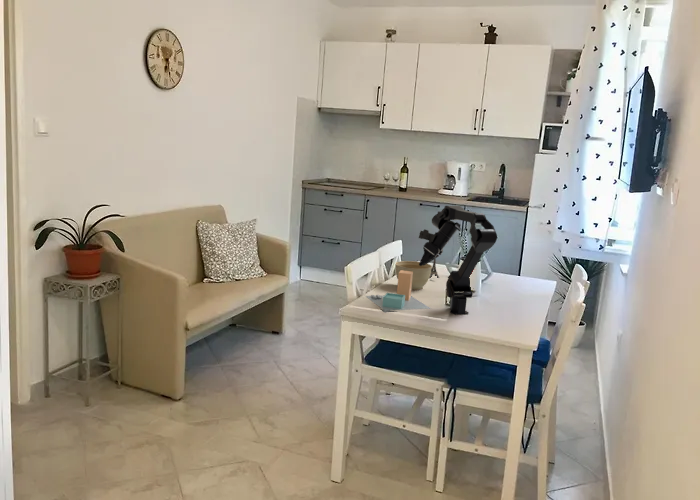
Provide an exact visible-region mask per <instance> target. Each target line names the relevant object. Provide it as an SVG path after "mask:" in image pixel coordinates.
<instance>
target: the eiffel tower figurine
mask: <svg viewBox="0 0 700 500" xmlns="http://www.w3.org/2000/svg"><path fill="white" fill-rule="evenodd" d="M436 260H437V258H436V259H434V260H433V264H432V265H431V266H432V269H431V274H430V277H429V279H430V278H431V277H432V276H437V278H440V276H439V274H438V271H437V265H436Z"/></svg>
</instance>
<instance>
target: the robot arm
mask: <svg viewBox="0 0 700 500" xmlns="http://www.w3.org/2000/svg"><path fill="white" fill-rule="evenodd" d="M454 221H457V222H454ZM458 221H463V222H468V223H470V228H469V234H470V236H471V237H470V241H471V247H470V249H469V250H468V252H467V254H466V256H465V257H464V259H463V260H462V262H461V265H460V266H459V268H458V270H451V272H450V274H449V275H448V277H447V281H446V283H445V285H446V287H445V288H446V289H445V290H446V296H447V297H448V298H450V304H449V305H450V306H449V308H450V313H452V314H454V315H467V314H469V311H467V310H466V308H467V300H468V299H469V298H471V299H472V297H473V294H474V293H473V290H471V287H470V278H469V277H470V275H471V274H472V272H473V270H475V268H476V266H477V265H478V264H479V261H480V260H481V258H482V256H483V254H484V253H485V252H487V251H488V250H490V249H491V248H492V247H493V246H494V245H495V244H496V242H497V239H498V234H497V231H496V229H495V227H494V225H493V224H492V223H491V222H490V221H489V220H488V219H487V217H486V214H484V213H483V212H474V211H470V210H465V209H464V207H462V206H461V205H444V208H442V209H441V211H440V210H439V211H437V213H436V214H435V215H434V216H433V217H432V218H431V224H432V225H433V226H434V227H435V228H437V230H438V231H437V232H435V233H430V231H429V230H428V229H423V230H420V231H419V234H418V235H419V236H418V239H421V240H425V241H427V242H425V243H424V245H423V254H422V257H421V259H420V261H419V262H420V263H419V265H420V266H422V265H423V266H424V265H426V264H429V263H431V262H432V261H434V259H436V260H437V258H439V257H440V256H441V255H442V254H443V253H444V248H445V247H446V245H448V244H449V242H450V240H451V238H453V236H454V235H455V233H456V232H457V231H458V232H461V231H462V230H461V229H462V228H461V224H460V223H459V222H458ZM477 224H478V225H480V226H481V227H483V228H477V227H476V225H477Z"/></svg>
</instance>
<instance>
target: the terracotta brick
mask: <svg viewBox="0 0 700 500" xmlns="http://www.w3.org/2000/svg"><path fill="white" fill-rule="evenodd" d="M412 277H413V272H411V271H403V270H401V271H400V272H399V275H398V279H397V289H396V294H401V295H405V300H407V301H409V299H410V298H411V296H412V289H411V287H412Z"/></svg>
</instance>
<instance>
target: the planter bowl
mask: <svg viewBox="0 0 700 500" xmlns="http://www.w3.org/2000/svg"><path fill="white" fill-rule="evenodd" d="M419 263H420V261H415V260H414V261H412V260H402V261H397V262H395V263H394V264H395V274H396V279H397V280H398V275H399V272H400V271H401V270H403V271H411V272H413V277H412V287H411V291H412V290H415V291H417V290H422V289H423V288H424V287H425V285H426V284H427V282H429V280H428V279H430V278H429V277H430V274H431V269H432V266H433V265H431V264H429V263H427V264H426V265H424V266H423V265H422V266H420V265H419Z"/></svg>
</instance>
